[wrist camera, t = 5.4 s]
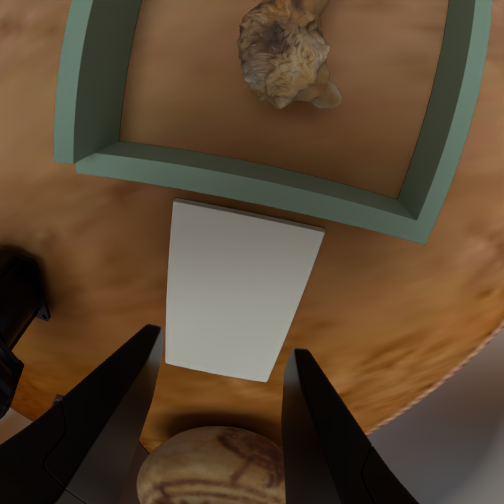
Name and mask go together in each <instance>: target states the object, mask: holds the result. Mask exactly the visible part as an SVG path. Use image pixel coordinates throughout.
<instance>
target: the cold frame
mask: <svg viewBox="0 0 504 504" xmlns="http://www.w3.org/2000/svg"><path fill="white" fill-rule="evenodd" d="M141 1H142V0H72V3H71V7H70V11H69V15H68V20H67V24H66V29H65V34H64V40H63V45H62V52H61V58H60V65H59V73H58V82H57V92H56V104H55V122H54V162H59V163H68V164H74V163H76V173H81V174H89V175H96V176H103V177H109V178H116V179H123V180H129V181H135V182H142V183H148V184H154V185H160V186H166V187H171V188H177V189H183V190H188V191H194V192H199V193H204V194H210V195H215V196H220V197H225V198H230V199H235V200H240V201H245V202H250V203H255V204H260V205H264V206H269V207H274V208H278V209H283V210H288V211H292V212H296V213H301V214H305V215H310V216H314V217H318V218H323V219H327V220H331V221H335V222H339V223H343V224H348V225H352V226H356V227H360V228H364V229H368V230H371V231H375V232H379V233H383V234H387V235H391V236H394V237H398V238H402V239H406V240H409V241H413V242H417V243H420V244H424V245H425V244H426V242H427V240H428V238H429V235H430V233H431V231H432V229H433V226H434V224H435V222H436V220H437V217H438V215H439V212H440V210H441V208H442V205H443V203H444V200H445V198H446V195H447V193H448V190H449V188H450V185H451V182H452V180H453V177H454V174H455V171H456V168H457V166H458V163H459V160H460V157H461V154H462V151H463V148H464V145H465V141H466V138H467V135H468V131H469V128H470V124H471V121H472V117H473V114H474V110H475V106H476V102H477V98H478V93H479V89H480V85H481V80H482V75H483V70H484V65H485V59H486V53H487V47H488V40H489V32H490V24H491V13H492V0H449V6H448V13H447V20H446V26H445V32H444V38H443V43H442V48H441V53H440V58H439V63H438V67H437V72H436V76H435V80H434V85H433V89H432V93H431V96H430V100H429V104H428V108H427V111H426V115H425V118H424V122H423V125H422V129H421V132H420V135H419V139H418V142H417V145H416V148H415V151H414V154H413V157H412V160H411V163H410V166H409V169H408V172H407V175H406V178H405V180H404V183H403V186H402V189H401V191H400V194H399V197H398V199H397V200H396V199H393V198H390V197H387V196H383V195H380V194H377V193H373V192H370V191H367V190H363V189H360V188H356V187H353V186H349V185H345V184H342V183H338V182H334V181H330V180H327V179H323V178H319V177H315V176H311V175H307V174H303V173H299V172H294V171H290V170H286V169H281V168H277V167H273V166H268V165H263V164H259V163H254V162H249V161H244V160H239V159H234V158H229V157H223V156H218V155H212V154H207V153H201V152H195V151H188V150H182V149H176V148H169V147H162V146H155V145H147V144H139V143H131V142H122V141H119V134H120V123H121V113H122V104H123V96H124V89H125V81H126V75H127V68H128V62H129V57H130V51H131V46H132V41H133V36H134V31H135V26H136V22H137V17H138V13H139V9H140V5H141Z"/></svg>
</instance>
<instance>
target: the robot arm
mask: <svg viewBox="0 0 504 504" xmlns="http://www.w3.org/2000/svg"><path fill="white" fill-rule="evenodd" d="M35 317H37V318H40V319H43V320H45V321H48V320H49V319H50V318H51V315H50V311H49V308H48V304H47V301H46V297H45V293H44V289H43V285H42V281H41V277H40V272H39V267H38V264H37V262H36V261H35V260H33V259H30V258H27V257H23V256H20V255H17V254H14V253H11V252H8V251H4V250H1V249H0V419H1V418H2V417H3V416H4V415H5V414H6V413H7V411H8V410H9V408H10V406H11V403H12V401H13V397H14V394H15V391H16V388H17V385H18V382H19V379H20V376H21V373H22V370H23V368H24V364H23V363H22V361H21V360H19V359H18V358H17V357H16V356H15V355H14V354H13V352H12V349H13V348H14V346H15V345H16V343H17V342H18V340H19V339H20V338H21V336H22V335H23V333H24V332H25V330H26V329H27V328H28V326H29V325H30V323H31V322H32V321H33V319H34V318H35ZM162 353H163V329H162V327H160V326H157V325H152V324H147V325H146V326H144V327H143V328H142V329H141V330H140V331H139V332H137V333H136V334H135V335H134V336H133V337H132V338H130V339H129V340H128V341H127V342H126V343H125V344H124V345H122V346H121V347H120V348H119V349H118V350H117V351H115V352H114V353H113V354H112V355H111V356H110V357H109V358H107V359H106V360H105V361H104V362H103V363H102V364H100V365H99V366H98V367H97V368H96V369H95V370H94V371H92V372H91V373H90V374H89V375H88V376H87V377H86V378H84V379H83V380H82V381H81V382H80V383H79V384H78V385H76V386H75V387H74V388H73V389H72V390H71V391H70V392H68V393H67V394H66V395H65V396H64V397H63V398H62V400H59V401H58V402H57V403H56V404H55V405H54V406H52V407H51V408H50V409H49V410H48V411H47V412H45V413H44V414H43V415H42V416H40V417H39V418H38V419H37V420H35V421H34V422H33V423H31V424H30V425H29V426H27V427H26V428H24V429H23V430H22V431H20V432H19V433H17V434H16V435H14V436H13V437H11V438H10V439H8V440H7V441H5V442H4V443H2V444H1V445H0V504H119V501H120V497H121V494H122V491H123V487H124V484H125V481H126V478H127V475H128V471H129V468H130V465H131V462H132V459H133V456H134V453H135V450H136V447H137V444H138V441H139V438H140V435H141V432H142V429H143V426H144V423H145V420H146V417H147V414H148V411H149V408H150V405H151V402H152V398H153V394H154V390H155V385H156V380H157V376H158V371H159V367H160V362H161V358H162ZM281 423H282V442H283V460H284V478H285V498H286V504H419V503H418V502H417V501H416V499H415V498H414V497H413V496H412V495H411V494H410V493H409V492H408V491H407V489H406V488H405V487H404V486H403V485H402V484H401V483H400V482H399V480H398V479H397V478H396V477H395V475H394V474H393V473H392V472H391V471H390V469H389V468H388V466H387V465H386V464H385V462H384V461H383V460H382V458H381V457H380V455H379V454H378V452H377V451H376V449H375V448H374V447H373V446H372V444H371V442H370V441H369V439H368V438H367V436H366V435H365V433H364V432H363V430H362V429H361V427H360V426H359V425H358V423H357V422H356V420H355V419H354V417H353V416H352V414H351V413H350V411H349V410H348V408H347V407H346V405H345V404H344V402H343V401H342V399H341V398H340V396H339V395H338V393H337V392H336V390H335V389H334V387H333V386H332V384H331V383H330V381H329V380H328V378H327V377H326V375H325V374H324V372H323V371H322V369H321V368H320V366H319V365H318V363H317V362H316V360H315V359H314V357H313V356H312V354H311V353H310V352H309V350H307V349H300V348H294V349H293V350H292V352H291V354H290V357H289V359H288V361H287V364H286V367H285V371H284V386H283V401H282V418H281Z"/></svg>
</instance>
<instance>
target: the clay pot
mask: <svg viewBox="0 0 504 504" xmlns="http://www.w3.org/2000/svg"><path fill="white" fill-rule="evenodd" d="M136 486H137V494H138V498H139V501H140V504H286V498H285V478H284V460H283V450H282V449H281V448H280V447H279V446H278V445H276V444H275V443H273V442H272V441H271V440H269V439H267V438H265V437H264V436H261V435H259V434H257V433H254V432H252V431H248V430H245V429H240V428H235V427H227V426H204V427H198V428H193V429H190V430H187V431H184V432H181V433H179V434H177V435H175V436H173V437H171V438H169V439H168V440H166V441H165V442H163V443H162V444H161V445H159V446H158V447H157V448H156V449H154V450H153V451H152V452H151V453H150V455H149V456H148V457H147V458H146V459H145V461H144V462H143V464H142V465H141V468H140V470H139V473H138V476H137V485H136Z"/></svg>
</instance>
